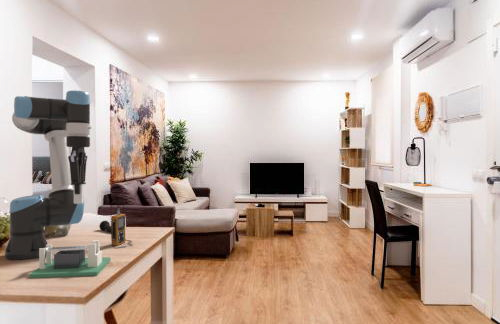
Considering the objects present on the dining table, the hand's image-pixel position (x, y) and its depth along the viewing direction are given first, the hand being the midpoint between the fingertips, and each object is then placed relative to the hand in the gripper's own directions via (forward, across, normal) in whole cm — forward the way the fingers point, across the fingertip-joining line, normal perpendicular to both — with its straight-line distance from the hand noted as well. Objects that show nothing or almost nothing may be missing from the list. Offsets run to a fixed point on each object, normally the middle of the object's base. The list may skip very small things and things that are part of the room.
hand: (78, 203), depth 132 cm
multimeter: (+23, +34, -10) cm, 42 cm away
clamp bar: (+17, 0, +3) cm, 17 cm away
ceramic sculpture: (+24, +55, +28) cm, 66 cm away
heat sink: (+22, 0, +3) cm, 22 cm away
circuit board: (+23, 0, +2) cm, 23 cm away
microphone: (+24, +63, +5) cm, 67 cm away
